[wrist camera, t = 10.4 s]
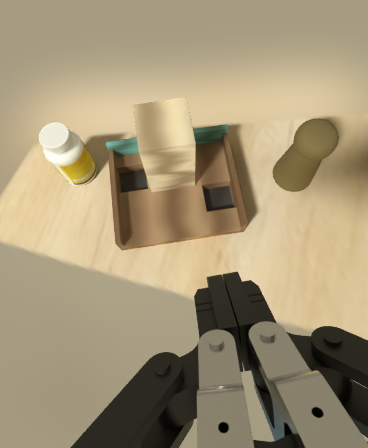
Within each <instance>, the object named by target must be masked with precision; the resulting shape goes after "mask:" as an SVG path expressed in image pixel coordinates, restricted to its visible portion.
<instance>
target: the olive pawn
mask: <svg viewBox="0 0 368 448" xmlns="http://www.w3.org/2000/svg"><path fill="white" fill-rule="evenodd" d="M337 143H338V133H337V130H336V128H335V127H334V125H332V124H331V123H330V122H328V121H326V120H323V119H312V120H309V121H306V122H305V123H303V124H302V125H301V126H300V127H299V128H298V130H297V131H296V133H295V136H294V143H293V144H292V146H291V147H290V148H289V149H288V150H287V151H286V152H285V154H284V155H283V156H282V157H281V158H280V159H279V161H278V162H277V163H276V165H275V166H274V169H273V178H274V180H275V182H276V183H277V184H278V185H279V186H280V187H281V188H283V189H285V190H287V191H291V192H296V191H301V190H304V189H305V188H306V187H308V185H309V184H310V182H311V180H312V178H313V176H314V174H315V173H316V171H317V169H318V167H319V165H320V163H321V161H322V159H323V158H326V157H327V156H329V155H330V154H331V153H332V152H333V151H334V149H335V148H336V146H337Z"/></svg>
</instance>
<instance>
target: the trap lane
mask: <svg viewBox="0 0 368 448" xmlns="http://www.w3.org/2000/svg"><path fill="white" fill-rule="evenodd" d="M227 131H228V127H227V124H226V125H219V126H212V127H206V128H199V129H193V133H194V138H195V143H196V147H195V186H189V187H182V188H176V189H169V190H163V191H156V192H151V189H150V185H149V182H148V179H147V176H146V173H145V170H144V167H143V164H142V161H141V157H140V154H139V150H138V142H137V138H131V139H124V140H117V141H111V142H106V147H107V149H108V157H109V170H110V182H111V194H112V207H113V219H114V231H115V244H116V245H117V246H118V247H119V248H120V249H121V250H128V249H134V248H141V247H147V246H154V245H160V244H167V243H173V242H180V241H186V240H192V239H199V238H205V237H212V236H218V235H225V234H231V233H238V232H244V230H245V228H246V226H247V224H248V220H247V215H246V211H245V207H244V203H243V198H242V194H241V190H240V185H239V181H238V177H237V173H236V168H235V164H234V160H233V155H232V151H231V147H230V142H229V138H228V134H227Z"/></svg>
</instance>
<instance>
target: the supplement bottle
mask: <svg viewBox="0 0 368 448" xmlns="http://www.w3.org/2000/svg"><path fill="white" fill-rule="evenodd" d="M39 141H40V143H41V144H42V146H43V147H44V154H45V157H46V158H47V159H48V161H49V162H50V163H51V164H52V165H53V166H54V167H55V169H56V170H57V171H58V172H59V173H60V174H61V175H62V177H63V178H64V179H65V180H66V181H67V182H68V183H70V184H71V185H75V186H82V185H86V184H88V183H89V182H91V181H92V180H93V178H94V177H95V175H96V172H97V166H96V163H95V161H94V160H93V158H92V156H91V155H90V153H89V152H88V150H87V148H86V147H85V145H84V143H83V142H82V140H81V139H80V137H79V136H78V135H77V134H75V133H74V132H71V131H70V130H69V129H68V127H67V126H65V125H64V124H62V123H59V122H54V123H50V124H48V125H46V126H45V127H43V128H42V130H41V132H40V134H39Z"/></svg>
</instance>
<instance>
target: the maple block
mask: <svg viewBox="0 0 368 448" xmlns="http://www.w3.org/2000/svg"><path fill="white" fill-rule="evenodd" d="M133 110H134V118H135V126H136V134H137V142H138V150H139V154H140V157H141V161H142V164H143V167H144V170H145V173H146V176H147V179H148V182H149V185H150V189H151V192H156V191H163V190H169V189H176V188H182V187H189V186H195V147H196V143H195V138H194V133H193V128H192V123H191V118H190V112H189V107H188V102H187V98H186V97H184V98H178V99H170V100H164V101H157V102H150V103H144V104H137V105H133Z"/></svg>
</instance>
